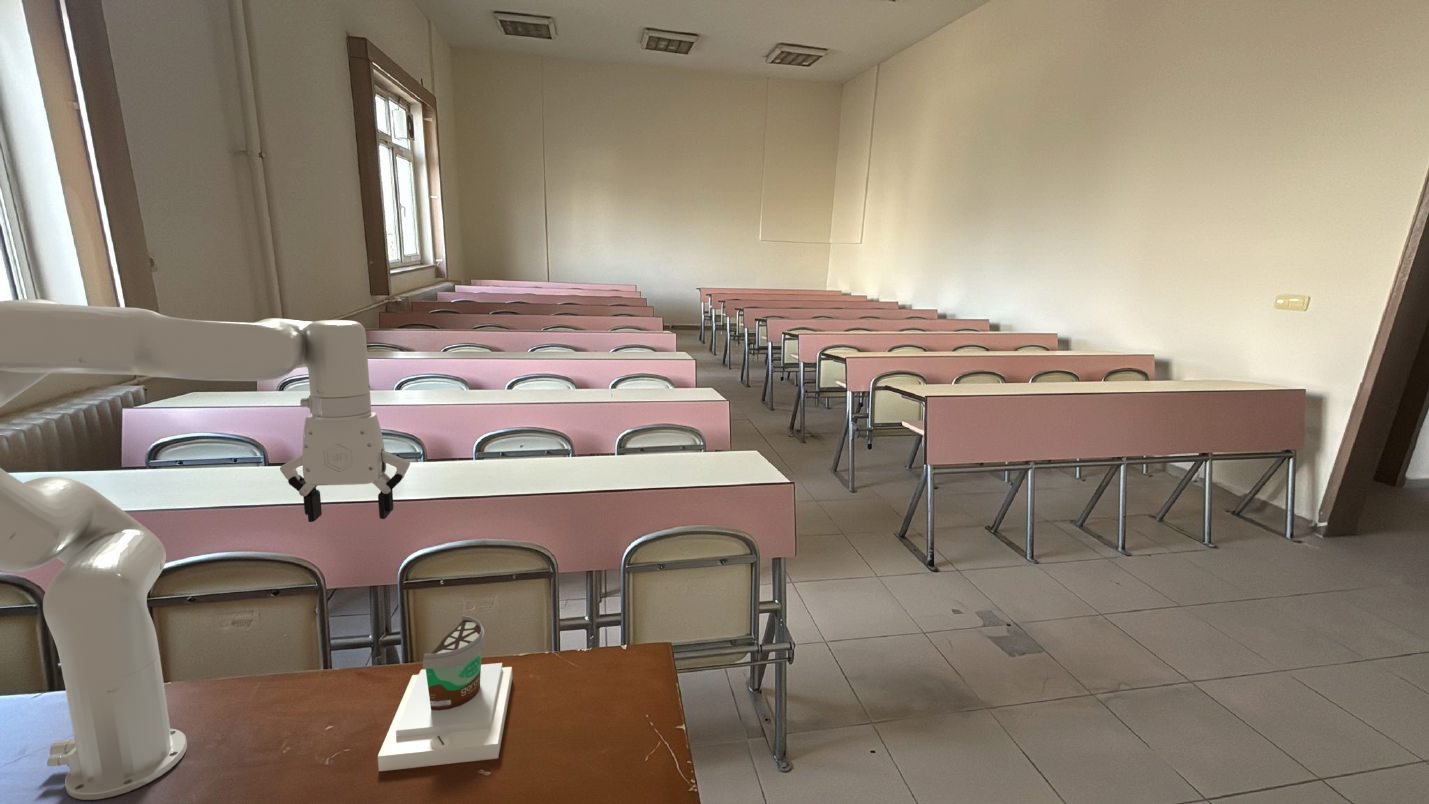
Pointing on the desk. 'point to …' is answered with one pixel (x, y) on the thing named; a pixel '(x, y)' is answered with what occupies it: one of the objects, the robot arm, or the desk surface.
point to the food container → (455, 666)
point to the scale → (448, 724)
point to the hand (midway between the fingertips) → (350, 517)
